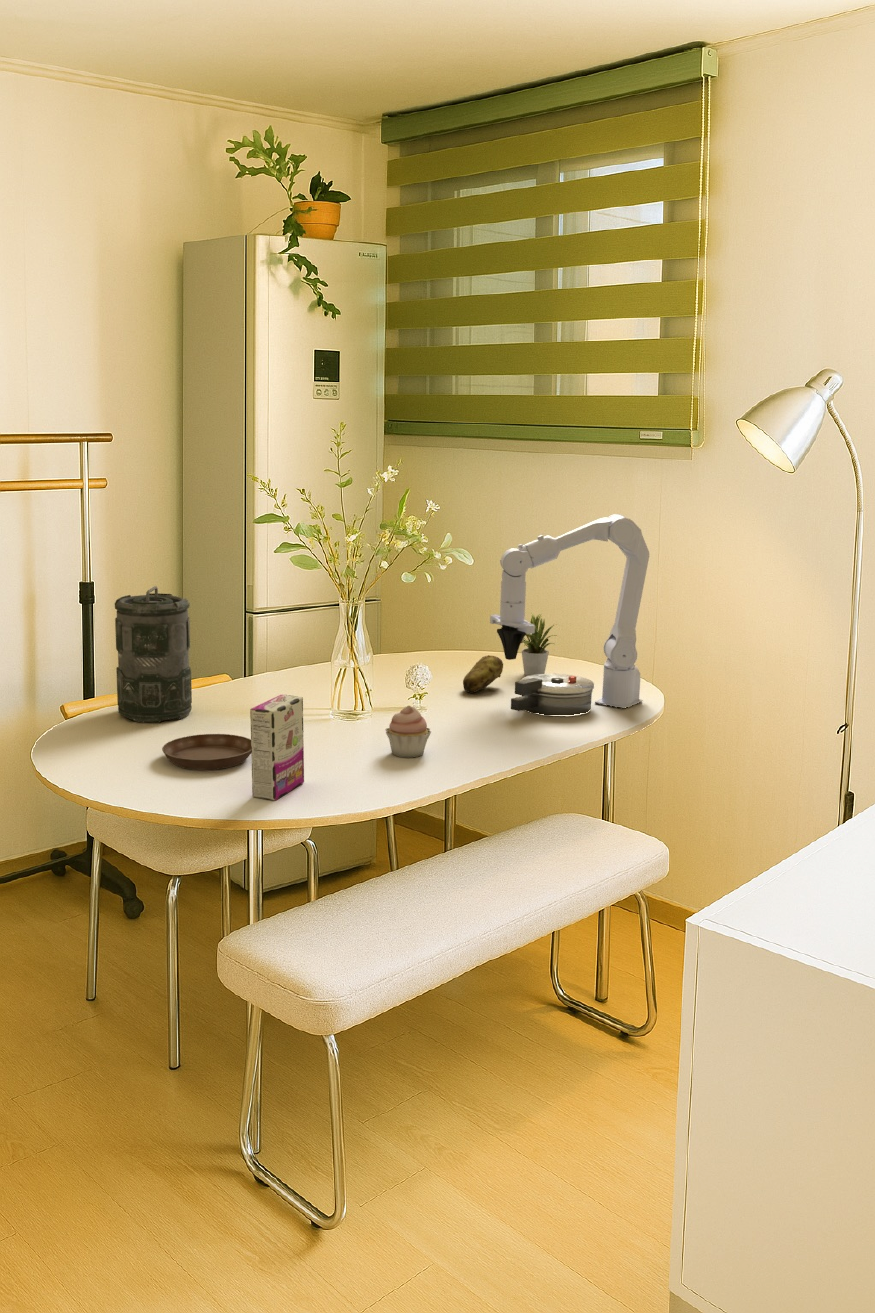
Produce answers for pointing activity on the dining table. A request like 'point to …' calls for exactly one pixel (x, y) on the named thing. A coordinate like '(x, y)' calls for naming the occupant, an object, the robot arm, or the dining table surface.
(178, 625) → the canister
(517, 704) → the pot
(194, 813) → the dining table surface
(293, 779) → the candy bar box
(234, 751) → the plant saucer
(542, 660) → the house plant
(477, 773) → the dining table surface
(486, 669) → the potato
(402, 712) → the cupcake
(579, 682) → the lid
